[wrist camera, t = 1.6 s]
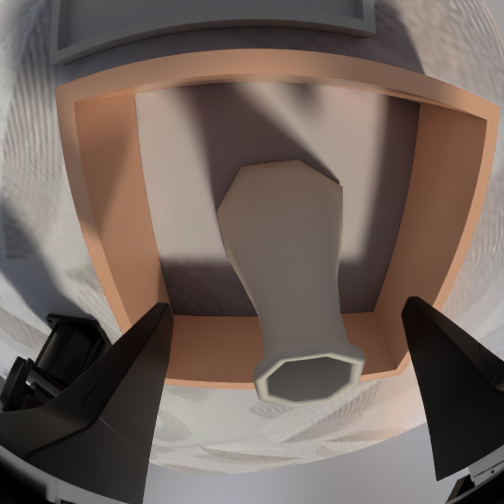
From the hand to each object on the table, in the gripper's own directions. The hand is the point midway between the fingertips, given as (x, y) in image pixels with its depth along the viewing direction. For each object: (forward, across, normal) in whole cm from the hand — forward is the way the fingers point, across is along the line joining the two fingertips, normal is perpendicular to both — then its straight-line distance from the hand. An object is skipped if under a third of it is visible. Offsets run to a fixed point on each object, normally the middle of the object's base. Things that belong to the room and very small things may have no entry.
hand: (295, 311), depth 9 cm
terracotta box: (+7, 0, 0) cm, 7 cm away
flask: (+7, 0, 0) cm, 7 cm away
